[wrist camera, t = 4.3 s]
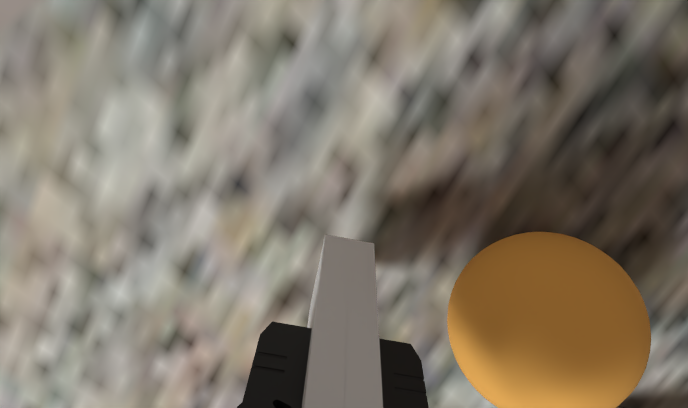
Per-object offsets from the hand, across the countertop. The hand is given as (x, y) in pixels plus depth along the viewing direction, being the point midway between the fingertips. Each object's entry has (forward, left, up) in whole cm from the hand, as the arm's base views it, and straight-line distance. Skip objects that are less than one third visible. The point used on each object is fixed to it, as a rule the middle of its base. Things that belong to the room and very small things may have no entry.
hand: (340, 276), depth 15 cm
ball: (-6, 0, +1) cm, 6 cm away
